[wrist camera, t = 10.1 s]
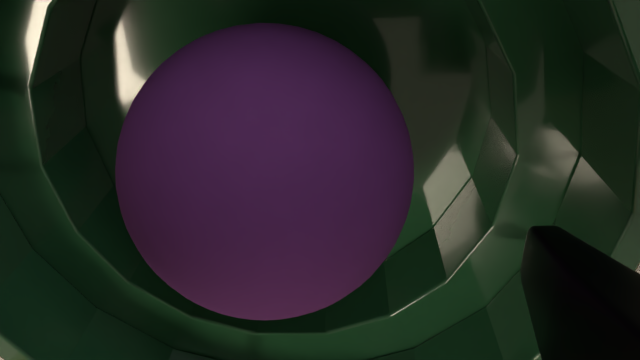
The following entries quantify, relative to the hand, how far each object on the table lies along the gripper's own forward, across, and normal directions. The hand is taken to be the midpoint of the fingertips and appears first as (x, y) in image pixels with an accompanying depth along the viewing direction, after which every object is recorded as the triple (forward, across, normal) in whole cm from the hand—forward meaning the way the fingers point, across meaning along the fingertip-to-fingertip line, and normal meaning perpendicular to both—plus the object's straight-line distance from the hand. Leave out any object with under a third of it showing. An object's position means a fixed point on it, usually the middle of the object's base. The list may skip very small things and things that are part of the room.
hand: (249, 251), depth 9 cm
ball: (+3, 0, 0) cm, 3 cm away
